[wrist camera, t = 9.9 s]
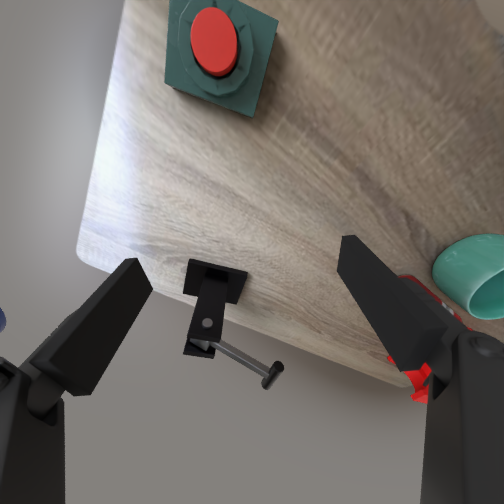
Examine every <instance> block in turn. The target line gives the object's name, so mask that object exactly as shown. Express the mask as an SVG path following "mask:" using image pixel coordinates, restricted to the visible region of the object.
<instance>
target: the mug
mask: <svg viewBox="0 0 504 504" xmlns="http://www.w3.org/2000/svg"><path fill="white" fill-rule="evenodd" d="M432 277H433V280H434V282H435V284H436V285H437V287H438V288H439V289H440V290H441V291H442V292H443V293H444V294H446V295H447V296H448V297H449V298H450V299H451V300H453V301H454V302H455V303H456V304H458V305H459V306H460V307H461V308H462V309H464V310H465V311H466V312H468V313H469V314H470V315H472V316H474V317H476V318H479V319H487V320H488V319H499V318H504V235H499V234H479V235H474V236H470V237H467V238H464V239H462V240H459V241H457V242H456V243H454V244H452V245H451V246H449V247H448V248H446V249H445V250H444V251H443V252H442V253H441V254H440V255H439V256H438V258H437V259H436V261H435V263H434V265H433V269H432Z"/></svg>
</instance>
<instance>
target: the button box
mask: <svg viewBox="0 0 504 504" xmlns="http://www.w3.org/2000/svg"><path fill="white" fill-rule="evenodd" d="M209 7H214V8H217V9H220V10H221V11H223V12H224V13H225V14H226V15H227V16H228V17H229V19H230V20H231V22H232V24H233V26H234V29H235V32H236V38H237V48H238V52H237V59H236V62H235V65H234V67H233V68H232V70H231V71H230V72H229V73H227V74H226V75H223V76H213V75H211V74H209V73H208V72H207V71H205V70H204V68H203V67H202V66H201V64H200V63H199V62H198V60H197V58H196V57H195V54H194V52H193V49H192V45H191V28H192V24H193V21H194V19H195V17H196V16H197V14H198V13H199V12H200V11H202V10H203V9H205V8H209ZM278 22H279V21H278V20H276V19H274V18H272V17H270V16H268V15H266V14H264V13H262V12H260V11H258V10H256V9H254V8H252V7H250V6H248V5H246V4H244V3H242V2H240V1H238V0H170V1H169V17H168V33H167V49H166V66H165V82H164V83H165V84H167V85H169V86H171V87H173V88H176V89H178V90H181V91H183V92H186V93H188V94H191V95H194V96H196V97H199V98H201V99H204V100H207V101H209V102H212V103H214V104H217V105H219V106H222V107H225V108H227V109H230V110H232V111H235V112H238V113H240V114H243V115H245V116H248V117H250V118H253V117H254V113H255V109H256V105H257V102H258V98H259V94H260V90H261V86H262V83H263V79H264V75H265V71H266V68H267V64H268V60H269V56H270V52H271V49H272V45H273V41H274V37H275V34H276V30H277V26H278Z"/></svg>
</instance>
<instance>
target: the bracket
mask: <svg viewBox="0 0 504 504" xmlns="http://www.w3.org/2000/svg"><path fill="white" fill-rule="evenodd" d="M247 276H248V272H245V271H241V270H237V269H232V268H228V267H224V266H220V265H216V264H211V263H207V262H203V261H199V260H194V259H189V262H188V266H187V272H186V278H185V283H184V289H183V294H187V295H192V296H197V297H198V299H197V303H196V306H195V310H194V313H193V317H192V320H191V324H190V327H189V330H188V334H187V341H186V345H185V348H184V352H183V354H184V355H191V356H197V357H205V358H211V359H213V358H214V356H215V350H216V349H215V348H214V347H212V346H209V347H208V349H207V351H205V350H203V349H202V348H200V347H198V346H197V345H195V344H193V343H192V342H190V338H191V339H197V340H203V341H209V342H215V343H220V340H221V334H222V326H223V319H224V310H225V302H226V303H231V304H237V302H238V299H239V297H240V294H241V292H242V289H243V286H244V284H245V281H246V279H247Z"/></svg>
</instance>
